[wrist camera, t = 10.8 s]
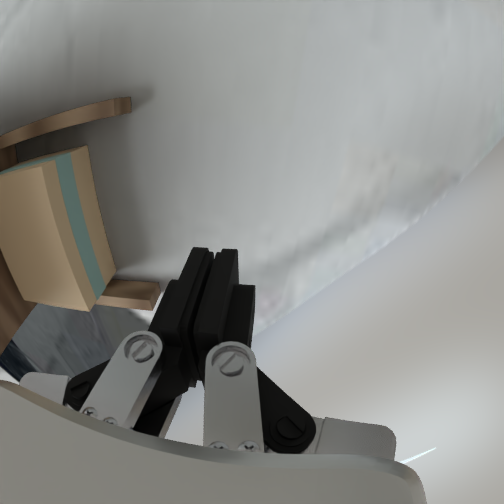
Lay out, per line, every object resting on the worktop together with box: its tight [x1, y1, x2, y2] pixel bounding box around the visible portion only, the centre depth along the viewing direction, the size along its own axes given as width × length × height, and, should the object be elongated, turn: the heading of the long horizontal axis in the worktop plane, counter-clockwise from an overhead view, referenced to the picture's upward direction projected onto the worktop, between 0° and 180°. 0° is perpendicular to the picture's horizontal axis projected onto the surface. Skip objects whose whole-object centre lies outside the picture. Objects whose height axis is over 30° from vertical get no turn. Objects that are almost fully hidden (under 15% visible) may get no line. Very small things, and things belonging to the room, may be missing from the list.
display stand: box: [0, 97, 161, 355], centre depth 14 cm, size 16×17×18 cm
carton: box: [0, 145, 116, 311], centre depth 19 cm, size 9×12×6 cm
